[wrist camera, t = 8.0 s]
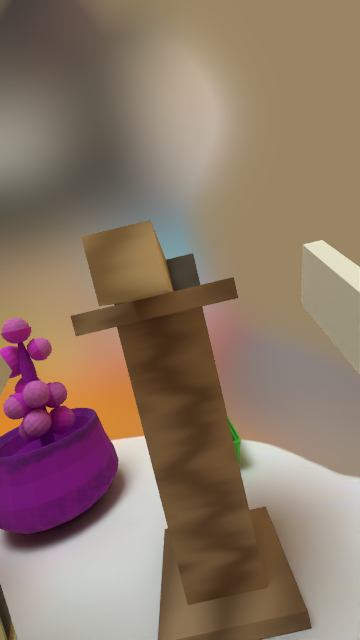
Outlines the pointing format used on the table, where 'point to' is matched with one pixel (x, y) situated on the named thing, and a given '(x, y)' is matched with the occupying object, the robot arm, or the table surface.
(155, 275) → the wooden handled hammer
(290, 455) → the table surface
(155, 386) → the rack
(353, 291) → the robot arm
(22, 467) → the decorative plant
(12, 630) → the coffee can
